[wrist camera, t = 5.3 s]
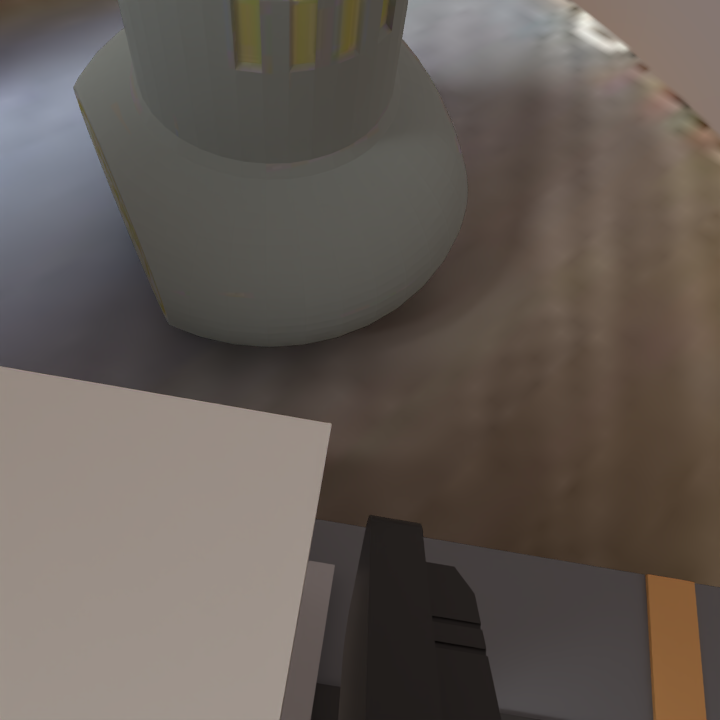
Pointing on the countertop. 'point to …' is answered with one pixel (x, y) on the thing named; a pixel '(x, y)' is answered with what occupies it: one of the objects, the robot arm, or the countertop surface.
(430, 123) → the air freshener
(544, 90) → the countertop surface
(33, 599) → the fader tab
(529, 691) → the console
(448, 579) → the robot arm
